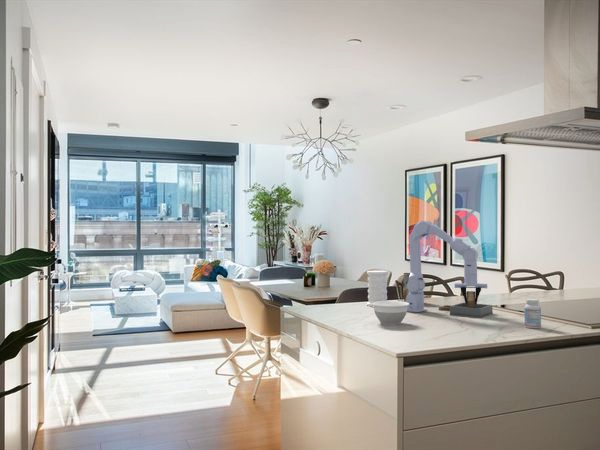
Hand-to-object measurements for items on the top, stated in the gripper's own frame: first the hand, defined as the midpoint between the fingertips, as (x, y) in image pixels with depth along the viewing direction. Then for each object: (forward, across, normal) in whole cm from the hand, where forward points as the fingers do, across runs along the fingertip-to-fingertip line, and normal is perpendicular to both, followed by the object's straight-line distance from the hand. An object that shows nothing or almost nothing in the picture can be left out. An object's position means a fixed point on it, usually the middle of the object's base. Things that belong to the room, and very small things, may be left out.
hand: (471, 303), depth 256 cm
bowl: (+5, +33, +33) cm, 47 cm away
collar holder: (+5, +10, -13) cm, 17 cm away
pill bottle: (+5, -24, +30) cm, 38 cm away
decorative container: (+5, +47, -20) cm, 51 cm away
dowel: (+2, 0, 0) cm, 2 cm away
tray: (+5, 0, 0) cm, 5 cm away
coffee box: (+5, +30, -35) cm, 46 cm away
